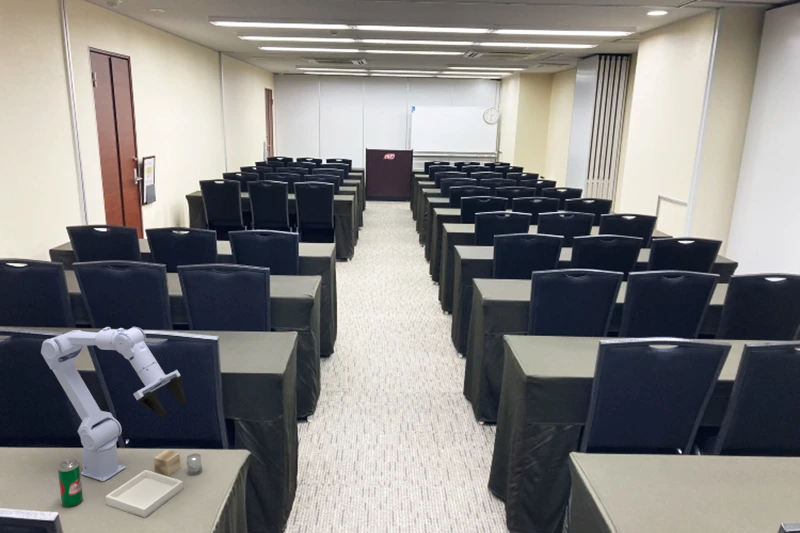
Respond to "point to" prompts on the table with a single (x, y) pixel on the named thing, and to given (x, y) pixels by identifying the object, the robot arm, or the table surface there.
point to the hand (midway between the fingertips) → (173, 409)
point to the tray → (144, 493)
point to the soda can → (70, 483)
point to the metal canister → (194, 464)
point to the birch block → (167, 462)
